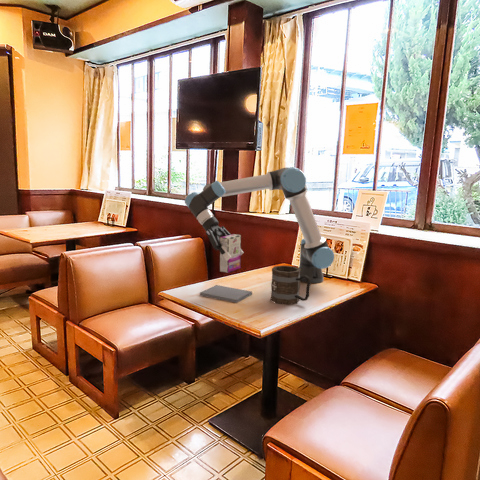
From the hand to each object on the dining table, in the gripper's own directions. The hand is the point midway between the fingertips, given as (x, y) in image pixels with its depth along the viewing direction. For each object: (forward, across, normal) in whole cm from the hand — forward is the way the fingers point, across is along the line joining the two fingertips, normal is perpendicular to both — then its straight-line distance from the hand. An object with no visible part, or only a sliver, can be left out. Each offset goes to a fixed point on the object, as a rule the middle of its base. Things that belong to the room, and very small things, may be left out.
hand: (235, 256), depth 189 cm
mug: (+32, -8, +4) cm, 33 cm away
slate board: (+10, 0, -17) cm, 20 cm away
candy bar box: (+3, 0, -7) cm, 8 cm away
